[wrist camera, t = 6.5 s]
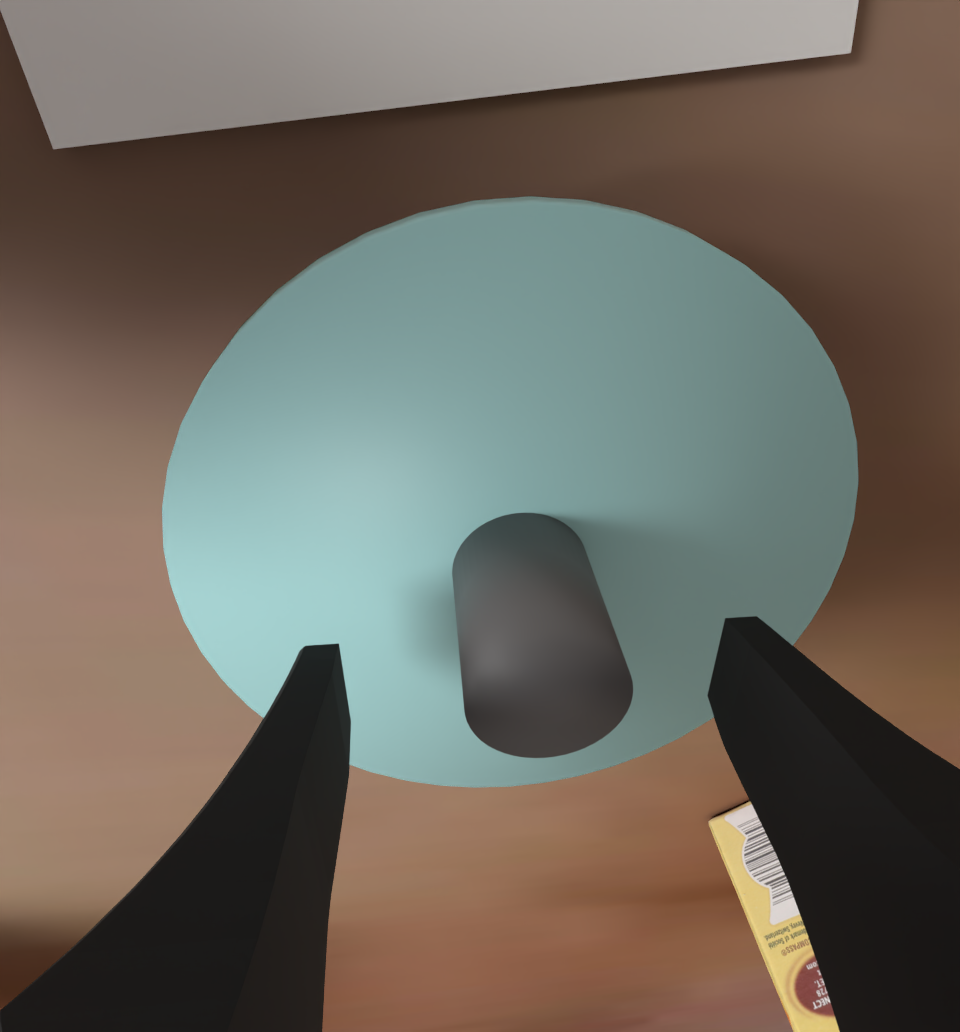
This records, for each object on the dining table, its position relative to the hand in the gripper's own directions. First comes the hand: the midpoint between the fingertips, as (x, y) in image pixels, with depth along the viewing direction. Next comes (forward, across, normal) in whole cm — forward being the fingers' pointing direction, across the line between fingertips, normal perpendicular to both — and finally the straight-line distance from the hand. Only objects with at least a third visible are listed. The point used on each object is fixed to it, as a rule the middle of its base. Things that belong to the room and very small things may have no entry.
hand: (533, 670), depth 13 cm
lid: (+3, 0, -1) cm, 3 cm away
